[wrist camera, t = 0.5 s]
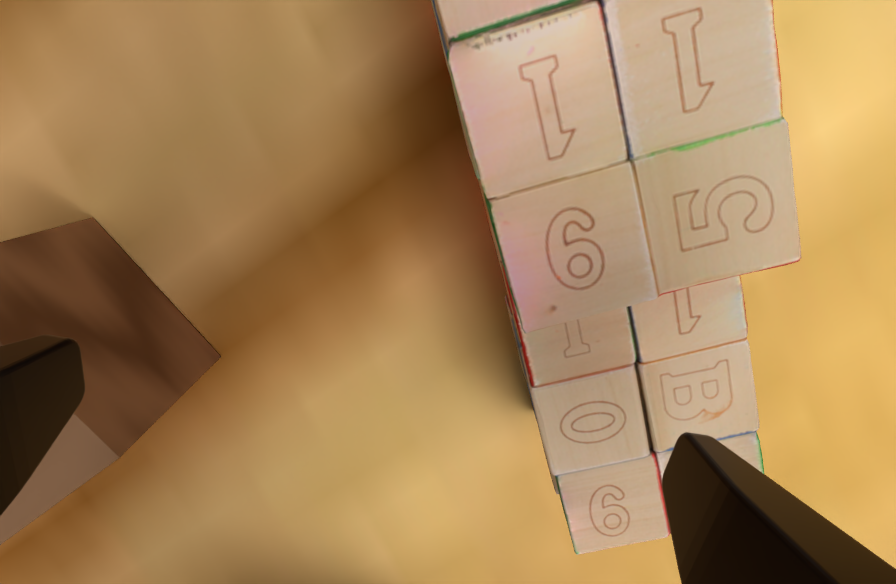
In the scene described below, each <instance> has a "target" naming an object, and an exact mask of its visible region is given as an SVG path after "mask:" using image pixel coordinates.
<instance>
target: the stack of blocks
mask: <svg viewBox="0 0 896 584" xmlns="http://www.w3.org/2000/svg"><path fill="white" fill-rule="evenodd" d="M431 3H432V7H433V11H434V15H435V19H436V23H437V27H438V31H439V35H440V39H441V43H442V47H443V52H444V56H445V60H446V64H447V68H448V71H449V74H450V78H451V81H452V87H453V91H454V96H455V100H456V104H457V108H458V112H459V117H460V121H461V125H462V129H463V133H464V137H465V142H466V146H467V150H468V154H469V157H470V159H471V161H472V164H473V168H474V172H475V175H476V177H477V179H478V182H479V186H480V190H481V194H482V198H483V202H484V206H485V211H486V215H487V219H488V224H489V228H490V231H491V235H492V239H493V241H494V245H495V248H496V252H497V256H498V259H499V263H500V267H501V271H502V275H503V279H504V283H505V287H506V291H507V294H506V295H505V301H506V305H507V309H508V313H509V317H510V321H511V325H512V330H513V334H514V338H515V342H516V346H517V350H518V355H519V358H520V362H521V366H522V370H523V374H524V377H525V380H526V382H527V386H528V390H529V394H530V397H531V401H532V406H533V410H534V413H535V416H536V420H537V423H538V427H539V431H540V435H541V439H542V443H543V448H544V452H545V456H546V459H547V463H548V467H549V471H550V475H551V478H552V482H553V485H554V489H555V491H556V493H557V494H560V498H561V502H562V506H563V510H564V513H565V517H566V521H567V524H568V528H569V532H570V536H571V539H572V543H573V547H574V551H575V553H576V554H584V553H589V552H594V551H599V550H604V549H609V548H614V547H619V546H624V545H629V544H634V543H639V542H645V541H650V540H656V539H661V538H666V537H667V536H668V535H669V534H670V533H671V530H670V525H669V520H668V515H667V510H666V505H665V501H664V496H663V490H662V478H663V473H664V470H665V468H666V465H667V463H668V461H669V458H670V456H671V453H672V451H673V448H674V446H675V443H676V441H677V439H678V437H679V436H680V435H681V434H683V433H685V432H690V433H696V434H703V435H709V436H711V437H713V438H715V439H716V440H717V441H719V442H720V443H722V444H723V445H724V446H726V447H727V448H729V449H730V450H731V451H733V452H734V453H735V454H737V455H738V456H740V457H741V458H742V459H744V460H745V461H747V462H748V463H749V464H751V465H752V466H754V467H755V468H756V469H758V470H759V471H760V472H762V473H763V474H764V468H763V459H762V452H761V448H760V441H759V438H758V435H757V433H756V431H757V430H758V429H759V416H758V410H757V401H756V393H755V385H754V379H753V372H752V365H751V355H750V347H749V343H748V340H747V333H748V324H747V320H746V310H745V303H744V296H743V290H742V284H741V277H740V275H743V274H747V273H752V272H757V271H761V270H766V269H770V268H775V267H779V266H784V265H788V264H791V263H795V262H798V261H799V260H800V259H801V246H800V236H799V227H798V217H797V207H796V199H795V193H794V182H793V168H792V158H791V149H790V139H789V130H788V123H787V122H786V120H785V119H784V117H783V115H782V93H781V77H780V68H779V58H778V49H777V40H776V34H775V28H774V12H773V0H431Z"/></svg>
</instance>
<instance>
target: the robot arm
mask: <svg viewBox="0 0 896 584" xmlns="http://www.w3.org/2000/svg"><path fill="white" fill-rule="evenodd" d="M84 393H85V379H84V371H83V364H82V356H81V349H80V346H79V344H78V342H77V341H76V340H74V339H73V338H68V337H61V336H55V335H40V336H36V337H32V338H28V339H25V340H21V341H17V342H13V343H10V344H6V345H2V346H0V516H1V515H2V514H3V513H4V511H5V510H6V509H7V508H8V506H9V505H10V504H11V503H12V501H13V500H14V499H15V498H16V496H17V495H18V494H19V492H20V491H21V490H22V488H23V487H24V486H25V484H26V483H27V481H28V480H29V479H30V477H31V476H32V474H33V473H34V471H35V470H36V468H37V467H38V466H39V464H40V463H41V461H42V460H43V458H44V457H45V455H46V454H47V452H48V451H49V449H50V448H51V446H52V445H53V443H54V442H55V440H56V439H57V437H58V436H59V434H60V433H61V431H62V430H63V429H64V427H65V426H66V424H67V423H68V421H69V420H70V418H71V417H72V415H73V414H74V412H75V411H76V409H77V408H78V406H79V405H80V403H81V401H82V399H83V397H84ZM662 490H663V496H664V501H665V505H666V510H667V515H668V520H669V525H670V530H671V535H672V540H673V545H674V550H675V555H676V560H677V565H678V570H679V574H680V578H681V583H682V584H896V569H895V568H894V567H892V566H891V565H889V564H888V563H887V562H885V561H884V560H882V559H881V558H880V557H878V556H877V555H876V554H874V553H873V552H871V551H870V550H869V549H867V548H866V547H864V546H863V545H862V544H860V543H859V542H857V541H856V540H855V539H853V538H852V537H851V536H849V535H848V534H846V533H845V532H844V531H842V530H841V529H839V528H838V527H837V526H835V525H834V524H833V523H831V522H830V521H828V520H827V519H826V518H824V517H823V516H821V515H820V514H819V513H817V512H816V511H815V510H813V509H812V508H810V507H809V506H808V505H806V504H805V503H803V502H802V501H801V500H799V499H798V498H796V497H795V496H794V495H792V494H791V493H790V492H788V491H787V490H785V489H784V488H783V487H781V486H780V485H778V484H777V483H776V482H774V481H773V480H772V479H770V478H769V477H767V476H766V475H765V474H763V473H762V472H760V471H759V470H758V469H756V468H755V467H754V466H752V465H751V464H749V463H748V462H747V461H745V460H744V459H742V458H741V457H740V456H738V455H737V454H735V453H734V452H733V451H731V450H730V449H729V448H727V447H726V446H724V445H723V444H722V443H720V442H719V441H717V440H716V439H715V438H713V437H711V436H709V435H703V434H696V433H690V432H685V433H683V434H681V435H680V436H679V437H678V439H677V441H676V443H675V446H674V448H673V451H672V453H671V456H670V458H669V461H668V463H667V465H666V468H665V470H664V473H663V478H662Z"/></svg>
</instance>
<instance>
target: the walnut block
mask: <svg viewBox="0 0 896 584" xmlns="http://www.w3.org/2000/svg"><path fill="white" fill-rule="evenodd" d="M40 335H55V336H61V337H68V338H73V339H74V340H76V341H77V342H78V344H79V346H80V349H81V356H82V364H83V371H84V379H85V393H84V397H83V399H82V401H81V403H80V405H79V406H78V408H77V409H76V411H75V412H74V414H73V415H72V417H71V418H70V420H69V421H68V423H67V424H66V426H65V427H64V429H63V430H62V431H61V433H60V434H59V436H58V437H57V439H56V440H55V442H54V443H53V445H52V446H51V448H50V449H49V451H48V452H47V454H46V455H45V457H44V458H43V460H42V461H41V463H40V464H39V466H38V467H37V468H36V470H35V471H34V473H33V474H32V476H31V477H30V479H29V480H28V481H27V483H26V484H25V486H24V487H23V488H22V490H21V491H20V492H19V494H18V495H17V496H16V498H15V499H14V500H13V501H12V503H11V504H10V505H9V506H8V508H7V509H6V510H5V511H4V513H3V514H2V515H1V516H0V545H1V544H2V543H3V542H5V541H6V540H8V539H9V538H10V537H12V536H13V535H14V534H16V533H17V532H18V531H20V530H21V529H23V528H24V527H25V526H27V525H28V524H29V523H31V522H32V521H34V520H35V519H36V518H38V517H39V516H40V515H42V514H43V513H44V512H46V511H47V510H49V509H50V508H51V507H53V506H54V505H55V504H57V503H58V502H59V501H61V500H62V499H64V498H65V497H66V496H68V495H69V494H70V493H72V492H73V491H75V490H76V489H77V488H79V487H80V486H81V485H83V484H84V483H85V482H87V481H88V480H90V479H91V478H92V477H94V476H95V475H96V474H98V473H99V472H100V471H102V470H103V469H105V468H106V467H107V466H109V465H110V464H111V463H113V462H114V461H116V460H117V459H118V458H120V457H121V456H122V455H123V454H124V453H125V452H126V451H127V450H128V449H129V448H130V447H131V446H132V445H133V444H134V443H135V442H136V441H137V440H138V439H139V438H140V437H141V436H142V435H143V434H144V433H145V432H146V431H147V430H148V429H149V428H150V427H151V426H152V425H153V424H154V423H155V422H156V421H157V420H158V419H159V418H160V417H161V416H162V415H163V414H164V413H165V412H166V411H167V410H168V409H169V408H170V407H171V406H172V405H173V404H174V403H175V402H176V401H177V400H178V399H179V398H180V397H181V396H182V395H183V394H184V393H185V392H186V391H187V390H188V389H189V388H190V387H191V386H192V385H193V384H194V383H195V382H196V381H197V380H198V379H199V378H200V377H201V376H202V375H203V374H204V373H205V372H206V371H207V370H208V369H209V368H210V367H211V366H212V365H213V364H214V363H215V362H216V361H217V360H218V359H219V358H220V357H221V356H220V355H219V354H218V353H217V352H216V351H215V350H214V349H213V348H212V346H211V345H210V344H209V343H208V342H207V341H206V340H205V339H204V338H203V337H202V336H201V334H200V333H199V332H198V331H197V330H196V329H195V328H194V327H193V326H192V325H191V324H190V323H189V321H188V320H187V319H186V318H185V317H184V316H183V315H182V314H181V313H180V312H179V311H178V310H177V308H176V307H175V306H174V305H173V304H172V303H171V302H170V301H169V300H168V299H167V298H166V297H165V295H164V294H163V293H162V292H161V291H160V290H159V289H158V288H157V287H156V286H155V285H154V283H153V282H152V281H151V280H150V279H149V278H148V277H147V276H146V275H145V274H144V273H143V272H142V270H141V269H140V268H139V267H138V266H137V265H136V264H135V263H134V262H133V261H132V260H131V259H130V257H129V256H128V255H127V254H126V253H125V252H124V251H123V250H122V249H121V248H120V247H119V246H118V244H117V243H116V242H115V241H114V240H113V239H112V238H111V237H110V236H109V235H108V234H107V233H106V231H105V230H104V229H103V228H102V227H101V226H100V225H99V224H98V223H97V222H96V221H95V219H94V218H90V219H86V220H82V221H78V222H75V223H71V224H67V225H63V226H60V227H56V228H52V229H48V230H45V231H41V232H37V233H33V234H30V235H26V236H22V237H18V238H15V239H11V240H7V241H3V242H0V346H2V345H6V344H10V343H13V342H17V341H21V340H25V339H28V338H32V337H36V336H40Z"/></svg>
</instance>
